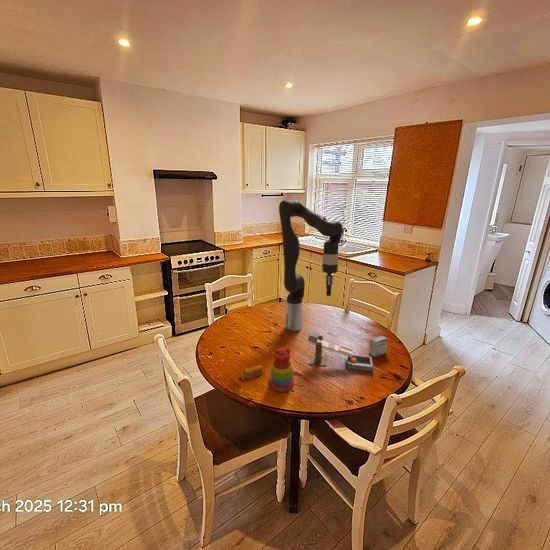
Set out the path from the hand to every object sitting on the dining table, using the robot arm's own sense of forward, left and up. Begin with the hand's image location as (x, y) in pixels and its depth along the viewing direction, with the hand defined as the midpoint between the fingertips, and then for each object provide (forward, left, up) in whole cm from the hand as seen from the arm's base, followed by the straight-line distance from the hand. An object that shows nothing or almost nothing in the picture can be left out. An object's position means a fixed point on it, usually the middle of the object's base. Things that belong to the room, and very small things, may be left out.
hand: (328, 295), depth 151 cm
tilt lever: (+2, -15, -21) cm, 26 cm away
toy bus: (-32, -33, -30) cm, 55 cm away
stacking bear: (-17, -37, -29) cm, 50 cm away
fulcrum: (-3, -15, -29) cm, 33 cm away
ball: (+14, -15, -27) cm, 34 cm away
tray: (+16, -15, -29) cm, 36 cm away
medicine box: (+26, -2, -29) cm, 39 cm away
